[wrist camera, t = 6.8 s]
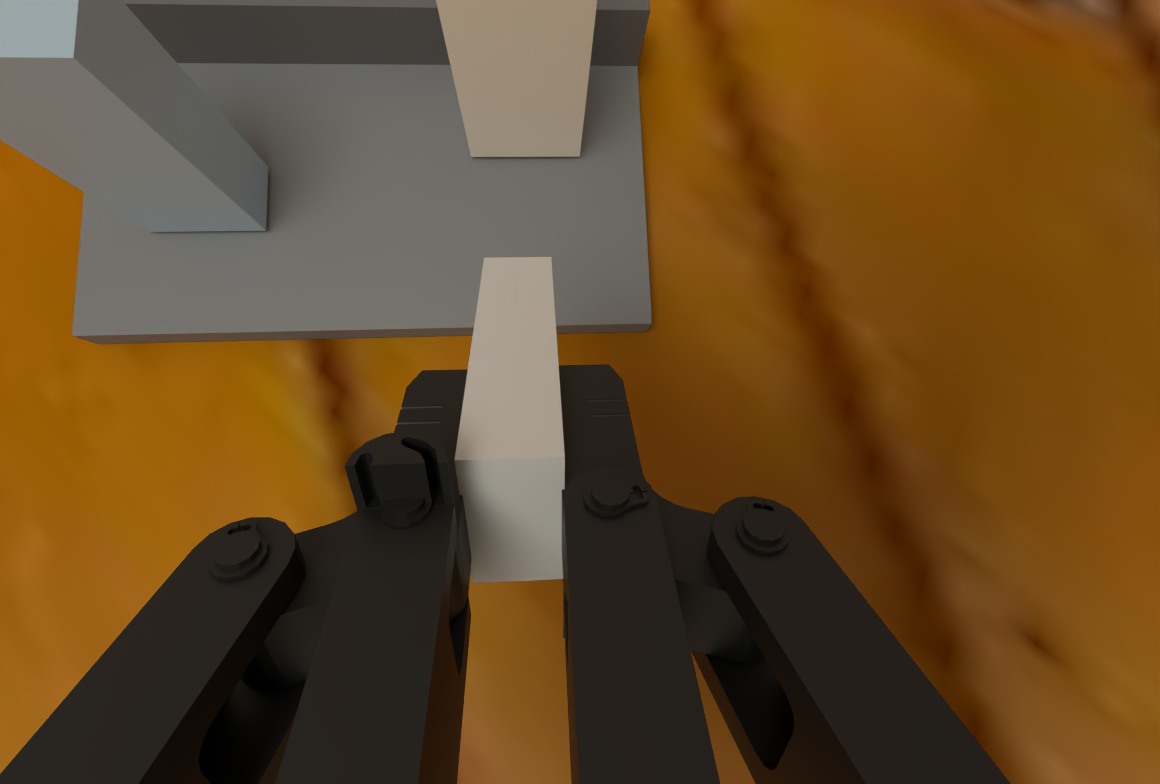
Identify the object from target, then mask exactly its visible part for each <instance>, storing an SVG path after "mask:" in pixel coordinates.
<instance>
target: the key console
mask: <svg viewBox="0 0 1160 784" xmlns="http://www.w3.org/2000/svg"><path fill="white" fill-rule="evenodd" d="M122 1H123V2H124V3H125V4H126V6H127V7H128V8H129V9H130V10H131V11H132V12H133V14H134V15H135V16H136V17H137V18H138V19H139V20H140V22H141V23H142V24H143V25H144V26H145V27H146V28H147V30H148V31H149V32H150V33H151V34H152V35H153V36H154V37H155V39H156V40H157V41H158V42H159V43H160V44H161V45H162V47H163V48H164V49H165V50H166V51H167V52H168V53H169V55H170V56H171V57H172V58H173V59H174V60H175V61H176V62H177V64H178V65H179V66H180V67H181V68H182V69H183V70H184V72H185V73H186V74H187V75H188V76H189V77H190V78H191V80H192V81H193V82H194V83H195V84H196V85H197V86H198V88H199V89H200V90H201V91H202V92H203V93H204V94H205V95H206V97H207V98H208V99H209V100H210V101H211V102H212V103H213V105H214V106H215V107H216V108H217V109H218V110H219V111H220V113H221V114H222V115H223V116H224V117H225V118H226V119H227V120H228V122H229V123H230V124H231V125H232V126H233V127H234V128H235V130H236V131H237V132H238V133H239V134H240V135H241V136H242V138H243V139H244V140H245V141H246V142H247V143H248V144H249V145H250V147H251V148H252V149H253V150H254V151H255V152H256V153H257V155H258V156H259V157H260V158H261V159H262V160H263V161H264V163H265V164H266V165H267V166H268V191H267V217H266V231H194V232H147V231H145V230H144V229H142V228H140V227H139V226H137V225H136V224H134V223H132V222H131V221H129V220H128V219H126V218H124V217H123V216H121V215H120V214H118V213H116V212H115V211H113V210H112V209H110V208H108V207H107V206H105V205H104V204H102V203H100V202H99V201H97V200H96V199H94V198H92V197H91V196H89V195H88V194H86V193H85V192H84V200H83V211H82V223H81V235H80V247H79V259H78V271H77V282H76V294H75V306H74V318H73V330H72V336H74V337H77V338H80V339H83V340H87V341H90V342H93V343H96V344H114V343H159V342H203V341H248V340H293V339H337V338H382V337H426V336H471V335H473V330H474V323H475V316H476V310H477V303H478V296H479V289H480V282H481V275H482V268H483V262H484V258H496V257H551V260H552V275H553V290H554V305H555V319H556V334H560V333H605V332H646V331H647V330H648V329H649V327H650V326H651V324H652V315H651V297H650V280H649V262H648V244H647V226H646V208H645V191H644V173H643V155H642V137H641V119H640V102H639V84H638V62H639V57H640V53H641V48H642V44H643V40H644V35H645V31H646V26H647V22H648V18H649V13H650V0H597V7H596V16H595V25H594V34H593V43H592V52H591V60H590V69H589V78H588V87H587V96H586V105H585V114H584V123H583V132H582V141H581V150H580V157H471V155H470V150H469V146H468V141H467V137H466V132H465V128H464V123H463V119H462V114H461V110H460V106H459V101H458V97H457V92H456V88H455V83H454V79H453V74H452V70H451V66H450V61H449V57H448V52H447V48H446V43H445V39H444V34H443V30H442V25H441V21H440V17H439V12H438V8H437V3H436V0H122Z"/></svg>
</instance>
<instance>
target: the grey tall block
mask: <svg viewBox="0 0 1160 784" xmlns="http://www.w3.org/2000/svg"><path fill="white" fill-rule="evenodd" d="M0 140H1V141H3V142H5V143H6V144H8V145H9V146H11V147H13V148H14V149H16V150H17V151H19V152H21V153H22V154H24V155H25V156H27V157H29V158H30V159H32V160H33V161H35V162H37V163H38V164H40V165H41V166H43V167H45V168H46V169H48V170H49V171H51V172H53V173H54V174H56V175H57V176H59V177H61V178H62V179H64V180H65V181H67V182H69V183H70V184H72V185H73V186H75V187H77V188H78V189H80V190H81V191H83V192H85V193H86V194H88V195H89V196H91V197H92V198H94V199H96V200H97V201H99V202H100V203H102V204H104V205H105V206H107V207H108V208H110V209H112V210H113V211H115V212H116V213H118V214H120V215H121V216H123V217H124V218H126V219H128V220H129V221H131V222H132V223H134V224H136V225H137V226H139V227H140V228H142V229H144V230H145V231H147V232H194V231H266V217H267V191H268V166H267V165H266V164H265V163H264V161H263V160H262V159H261V158H260V157H259V156H258V155H257V153H256V152H255V151H254V150H253V149H252V148H251V147H250V145H249V144H248V143H247V142H246V141H245V140H244V139H243V138H242V136H241V135H240V134H239V133H238V132H237V131H236V130H235V128H234V127H233V126H232V125H231V124H230V123H229V122H228V120H227V119H226V118H225V117H224V116H223V115H222V114H221V113H220V111H219V110H218V109H217V108H216V107H215V106H214V105H213V103H212V102H211V101H210V100H209V99H208V98H207V97H206V95H205V94H204V93H203V92H202V91H201V90H200V89H199V88H198V86H197V85H196V84H195V83H194V82H193V81H192V80H191V78H190V77H189V76H188V75H187V74H186V73H185V72H184V70H183V69H182V68H181V67H180V66H179V65H178V64H177V62H176V61H175V60H174V59H173V58H172V57H171V56H170V55H169V53H168V52H167V51H166V50H165V49H164V48H163V47H162V45H161V44H160V43H159V42H158V41H157V40H156V39H155V37H154V36H153V35H152V34H151V33H150V32H149V31H148V30H147V28H146V27H145V26H144V25H143V24H142V23H141V22H140V20H139V19H138V18H137V17H136V16H135V15H134V14H133V12H132V11H131V10H130V9H129V8H128V7H127V6H126V4H125V3H124V2H123V1H122V0H0Z"/></svg>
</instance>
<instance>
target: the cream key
mask: <svg viewBox="0 0 1160 784" xmlns="http://www.w3.org/2000/svg"><path fill="white" fill-rule="evenodd" d="M436 3H437V8H438V12H439V17H440V21H441V25H442V30H443V34H444V39H445V43H446V48H447V52H448V57H449V61H450V66H451V70H452V74H453V79H454V83H455V88H456V92H457V97H458V101H459V106H460V110H461V114H462V119H463V123H464V128H465V132H466V137H467V141H468V146H469V150H470V155H471V157H580V150H581V141H582V132H583V123H584V114H585V105H586V96H587V87H588V78H589V69H590V60H591V52H592V43H593V34H594V25H595V16H596V7H597V0H436Z"/></svg>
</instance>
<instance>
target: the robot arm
mask: <svg viewBox="0 0 1160 784" xmlns="http://www.w3.org/2000/svg"><path fill="white" fill-rule="evenodd" d="M626 399H627V398H626V393H625V389H624V384H623V380H622V379H621V378H620V376H619V375H618V374H617V373H616V372H615V371H614V370H613V369H612V368H611V367H610V365H566V366H559V364H558V349H557V334H556V319H555V305H554V290H553V275H552V260H551V257H496V258H484V262H483V268H482V275H481V282H480V289H479V296H478V303H477V310H476V316H475V323H474V330H473V337H472V344H471V351H470V358H469V364H468V370H426V371H422V372H421V373H420V374H419V375H418V376H417V377H416V378H415V379H414V380H413V381H412V382H411V383H410V384H409V385H408V386H407V388H406V392H405V395H404V399H403V403H402V410H400V413H399V417H398V421H397V425H396V428H395V431H394V433H390V434H385V435H382V436H380V437H377V438H375V439H373V440H370V441H368V442H366V443H365V444H364V445H362V446H361V447H360V448H358V449H357V450H356V451H354V452H353V453H352V455H351V457H350V458H349V460H348V461H347V463H346V464H345V469H346V472H347V476H348V479H349V483H350V486H351V489H352V493H353V496H354V499H355V503H356V506H357V512H355V513H353V514H351V515H349V516H348V517H346V518H344V519H342V520H339V521H336V522H334V523H331V524H328V525H325V526H321V527H318V528H314V529H311V530H307V531H304V532H300V533H297V534H294V533H293V532H292V530H291V529H290V528H289V527H288V526H287V525H286V523H284V522H281V521H279V520H276V519H273V518H270V517H257V518H247V519H244V520H240V521H236V522H233V523H229V524H228V525H226V526H224V527H222V528H220V529H218V530H216V531H214V532H213V533H211V534H209V535H208V536H207V537H206V538H205V539H204V540H202V541H201V542H200V543H199V544H198V545H197V546H196V547H195V548H193V550H192V551H191V552H190V553H189V554H188V555H187V557H186V558H185V559H184V560H183V561H182V562H181V564H180V565H179V566H178V567H177V568H176V569H175V571H174V572H173V573H172V574H171V575H170V576H169V578H168V579H167V580H166V581H165V582H164V583H163V585H162V586H161V587H160V588H159V589H158V590H157V592H156V593H155V594H154V595H153V596H152V598H151V599H150V600H149V601H148V602H147V603H146V605H145V606H144V607H143V608H142V609H141V610H140V612H139V613H138V614H137V615H136V616H135V617H134V619H133V620H132V621H131V622H130V623H129V624H128V626H127V627H126V628H125V629H124V630H123V631H122V633H121V634H120V635H119V636H118V637H117V638H116V640H115V641H114V642H113V643H112V644H111V645H110V647H109V648H108V649H107V650H106V651H105V652H104V654H103V655H102V656H101V657H100V658H99V659H98V661H97V662H96V663H95V664H94V665H93V666H92V668H91V669H90V670H89V671H88V672H87V673H86V675H85V676H84V677H83V678H82V679H81V680H80V682H79V683H78V684H77V685H76V686H75V687H74V689H73V690H72V691H71V692H70V693H69V694H68V696H67V697H66V698H65V699H64V700H63V701H62V703H61V704H60V705H59V706H58V707H57V708H56V710H55V711H54V712H53V713H52V714H51V715H50V717H49V718H48V719H47V720H46V721H45V723H44V724H43V725H42V726H41V727H40V728H39V730H38V731H37V732H36V733H35V734H34V735H33V737H32V738H31V739H30V740H29V741H28V742H27V744H26V745H25V746H24V747H23V748H22V749H21V751H20V752H19V753H18V754H17V755H16V756H15V758H14V759H13V760H12V761H11V762H10V763H9V765H8V766H7V767H6V768H5V769H4V770H3V772H2V773H1V774H0V784H457V775H458V764H459V752H460V740H461V728H462V716H463V704H464V693H465V681H466V669H467V657H468V645H469V634H470V622H471V611H470V604H469V597H468V591H469V581H470V570H471V577H472V583H486V582H508V581H530V580H552V579H563V588H564V625H563V638H565V652H566V673H567V695H568V716H569V738H570V759H571V780H572V784H720V781H719V776H718V772H717V767H716V763H715V759H714V754H713V750H712V745H711V741H710V736H709V732H708V727H707V723H706V718H705V714H704V709H703V705H702V700H701V696H700V691H699V687H698V682H697V678H696V673H695V669H694V664H693V660H692V656H691V651H692V654H693V656H694V658H695V660H696V662H697V664H698V666H699V668H700V670H701V672H702V674H703V677H704V679H705V681H706V683H707V685H708V687H709V689H710V691H711V693H712V695H713V697H714V699H715V701H716V703H717V705H718V707H719V709H720V711H721V713H722V716H723V718H724V720H725V722H726V724H727V726H728V728H729V730H730V732H731V734H732V736H733V738H734V740H735V742H736V744H737V746H738V748H739V750H740V753H741V755H742V757H743V759H744V761H745V763H746V765H747V767H748V769H749V771H750V773H751V775H752V777H753V779H754V781H755V783H756V784H1010V783H1009V781H1008V780H1007V779H1006V777H1005V776H1004V775H1003V774H1002V772H1001V771H1000V770H999V769H998V767H997V766H996V765H995V763H994V762H993V761H992V760H991V758H990V757H989V756H988V755H987V753H986V752H985V751H984V750H983V748H982V747H981V746H980V744H979V743H978V742H977V741H976V739H975V738H974V737H973V736H972V734H971V733H970V732H969V730H968V729H967V728H966V727H965V725H964V724H963V723H962V722H961V720H960V719H959V718H958V717H957V715H956V714H955V713H954V711H953V710H952V709H951V708H950V706H949V705H948V704H947V703H946V701H945V700H944V699H943V697H942V696H941V695H940V694H939V692H938V691H937V690H936V689H935V687H934V686H933V685H932V684H931V682H930V681H929V680H928V678H927V677H926V676H925V675H924V673H923V672H922V671H921V670H920V668H919V667H918V666H917V664H916V663H915V662H914V661H913V659H912V658H911V657H910V656H909V654H908V653H907V652H906V651H905V649H904V648H903V647H902V645H901V644H900V643H899V642H898V640H897V639H896V638H895V637H894V635H893V634H892V633H891V632H890V630H889V629H888V628H887V626H886V625H885V624H884V623H883V621H882V620H881V619H880V618H879V616H878V615H877V614H876V612H875V611H874V610H873V609H872V607H871V606H870V605H869V604H868V602H867V601H866V600H865V599H864V597H863V596H862V595H861V593H860V592H859V591H858V590H857V588H856V587H855V586H854V585H853V583H852V582H851V581H850V579H849V578H848V577H847V576H846V574H845V573H844V572H843V571H842V569H841V568H840V567H839V566H838V564H837V563H836V562H835V560H834V559H833V558H832V557H831V555H830V554H829V553H828V552H827V550H826V549H825V548H824V546H823V545H822V544H821V543H820V541H819V540H818V539H817V538H816V536H815V535H814V534H813V533H812V531H811V530H810V529H809V527H808V526H807V525H806V524H805V522H804V521H803V520H802V519H800V518H799V517H798V516H797V515H796V514H795V513H794V512H793V511H792V510H791V509H789V508H787V507H785V506H783V505H781V504H779V503H777V502H775V501H773V500H769V499H764V498H759V497H755V496H754V497H740V498H735V499H733V500H731V501H729V502H726V503H724V504H723V505H722V506H721V507H720V508H719V509H718V511H717V512H716V513H715V514H711V513H706V512H702V511H697V510H693V509H688V508H685V507H682V506H679V505H675V504H673V503H671V502H669V501H667V500H666V499H664V498H662V497H661V496H659V495H658V494H657V493H656V492H655V491H653V490H652V488H651V486H650V485H649V484H648V483H647V482H646V480H645V478H644V475H643V473H642V469H641V464H640V459H639V455H638V450H637V445H636V441H635V436H634V431H633V426H632V422H631V417H630V412H629V407H628V403H627V400H626ZM690 649H691V651H690Z"/></svg>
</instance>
